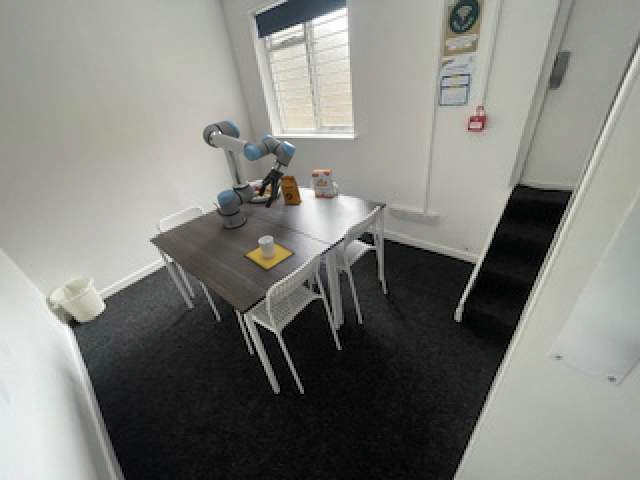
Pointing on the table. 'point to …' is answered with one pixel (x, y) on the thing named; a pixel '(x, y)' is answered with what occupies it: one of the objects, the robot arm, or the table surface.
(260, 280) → the table surface
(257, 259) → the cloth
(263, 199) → the bowl
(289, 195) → the coffee package
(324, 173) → the cracker box
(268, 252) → the white cup
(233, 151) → the robot arm
